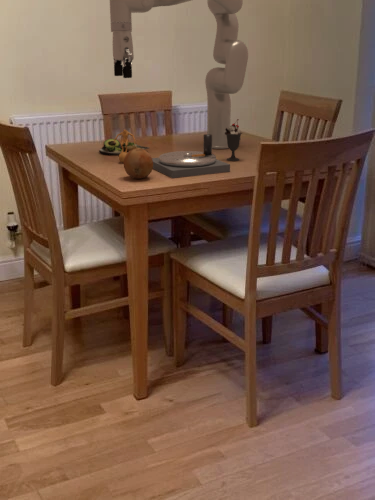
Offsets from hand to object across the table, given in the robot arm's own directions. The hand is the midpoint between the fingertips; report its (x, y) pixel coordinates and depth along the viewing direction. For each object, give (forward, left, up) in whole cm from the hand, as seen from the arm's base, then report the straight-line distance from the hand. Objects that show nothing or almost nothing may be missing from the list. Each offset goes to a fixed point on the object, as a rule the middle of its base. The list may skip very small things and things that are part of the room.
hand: (123, 76), depth 236 cm
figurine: (+4, +8, -30) cm, 31 cm away
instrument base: (-12, +28, -30) cm, 43 cm away
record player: (-12, +28, -27) cm, 41 cm away
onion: (+9, +34, -30) cm, 47 cm away
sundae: (-34, +22, -30) cm, 51 cm away
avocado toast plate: (-2, -12, -31) cm, 33 cm away
